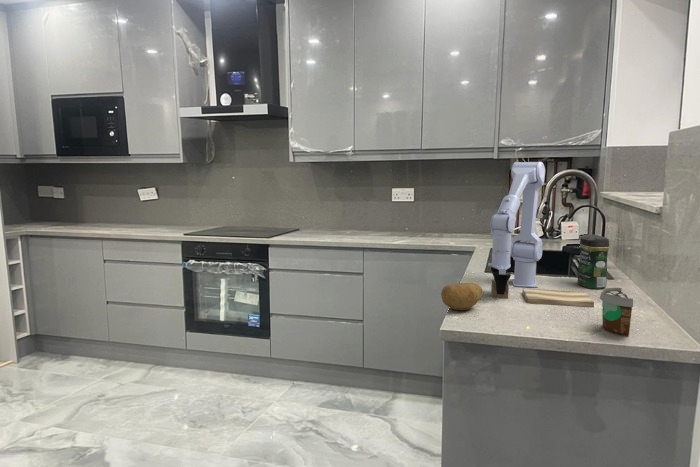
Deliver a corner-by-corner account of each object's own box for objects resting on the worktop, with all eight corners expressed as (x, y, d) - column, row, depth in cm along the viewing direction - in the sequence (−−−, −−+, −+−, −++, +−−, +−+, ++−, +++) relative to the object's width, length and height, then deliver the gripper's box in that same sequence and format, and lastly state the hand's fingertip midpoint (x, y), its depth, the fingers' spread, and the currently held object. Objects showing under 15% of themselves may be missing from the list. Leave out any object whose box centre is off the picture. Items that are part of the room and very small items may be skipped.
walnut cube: (491, 294, 161) (491, 279, 160) (506, 295, 160) (507, 280, 159) (492, 298, 156) (492, 283, 155) (508, 299, 155) (508, 283, 154)
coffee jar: (573, 283, 175) (576, 233, 173) (593, 282, 176) (597, 232, 174) (588, 290, 166) (592, 237, 163) (610, 289, 167) (614, 236, 164)
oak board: (522, 292, 162) (522, 288, 162) (583, 296, 158) (583, 291, 158) (527, 303, 150) (527, 298, 149) (593, 307, 145) (594, 302, 145)
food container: (593, 321, 132) (595, 285, 131) (618, 323, 130) (621, 287, 129) (602, 335, 120) (605, 297, 119) (630, 338, 119) (633, 299, 117)
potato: (491, 309, 143) (492, 283, 142) (455, 316, 136) (456, 289, 135) (468, 301, 151) (469, 277, 150) (433, 308, 144) (433, 282, 143)
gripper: (487, 246, 164) (486, 285, 165) (489, 254, 150) (488, 296, 151) (509, 247, 162) (507, 286, 164) (513, 255, 148) (511, 297, 150)
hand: (499, 291), depth 157 cm, fingers open, 7 cm apart
